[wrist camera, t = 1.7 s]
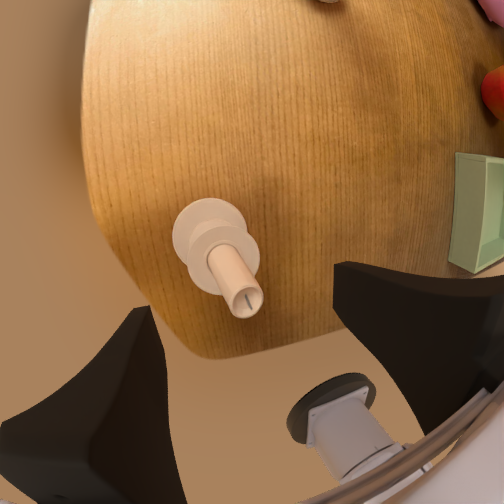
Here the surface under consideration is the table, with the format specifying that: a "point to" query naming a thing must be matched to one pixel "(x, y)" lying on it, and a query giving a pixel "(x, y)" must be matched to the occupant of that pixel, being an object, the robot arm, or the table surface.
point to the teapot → (494, 10)
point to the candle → (220, 253)
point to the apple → (494, 92)
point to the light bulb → (329, 1)
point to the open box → (477, 212)
